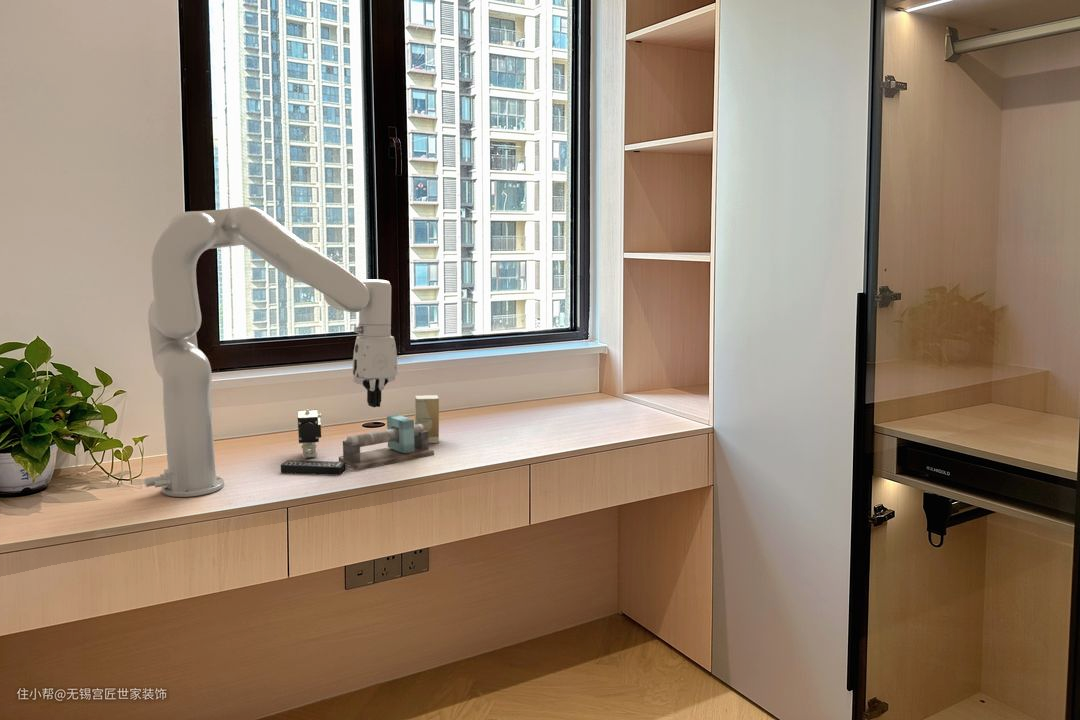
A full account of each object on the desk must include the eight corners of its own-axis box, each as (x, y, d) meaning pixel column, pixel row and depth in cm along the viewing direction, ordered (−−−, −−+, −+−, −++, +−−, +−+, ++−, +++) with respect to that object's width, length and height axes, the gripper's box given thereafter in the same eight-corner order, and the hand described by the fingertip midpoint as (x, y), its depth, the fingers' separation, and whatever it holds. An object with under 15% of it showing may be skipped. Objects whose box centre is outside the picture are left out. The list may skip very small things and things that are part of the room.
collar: (403, 453, 206) (403, 421, 205) (387, 446, 212) (386, 415, 211) (414, 451, 208) (413, 419, 207) (398, 444, 214) (397, 414, 213)
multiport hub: (288, 469, 200) (287, 459, 199) (346, 471, 198) (346, 461, 198) (280, 474, 195) (279, 465, 195) (340, 476, 194) (340, 467, 193)
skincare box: (415, 444, 221) (414, 398, 219) (414, 440, 225) (413, 395, 223) (440, 443, 222) (439, 397, 220) (438, 438, 226) (437, 394, 224)
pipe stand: (357, 469, 198) (356, 440, 197) (338, 460, 205) (337, 432, 204) (433, 454, 211) (433, 427, 210) (413, 446, 218) (412, 419, 217)
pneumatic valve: (299, 463, 203) (297, 415, 201) (300, 451, 214) (297, 405, 212) (323, 461, 204) (321, 413, 202) (322, 449, 215) (320, 403, 214)
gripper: (353, 334, 194) (353, 411, 196) (410, 331, 203) (408, 405, 206) (339, 330, 200) (338, 406, 202) (394, 328, 209) (393, 400, 212)
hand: (374, 406), depth 204 cm, fingers closed
